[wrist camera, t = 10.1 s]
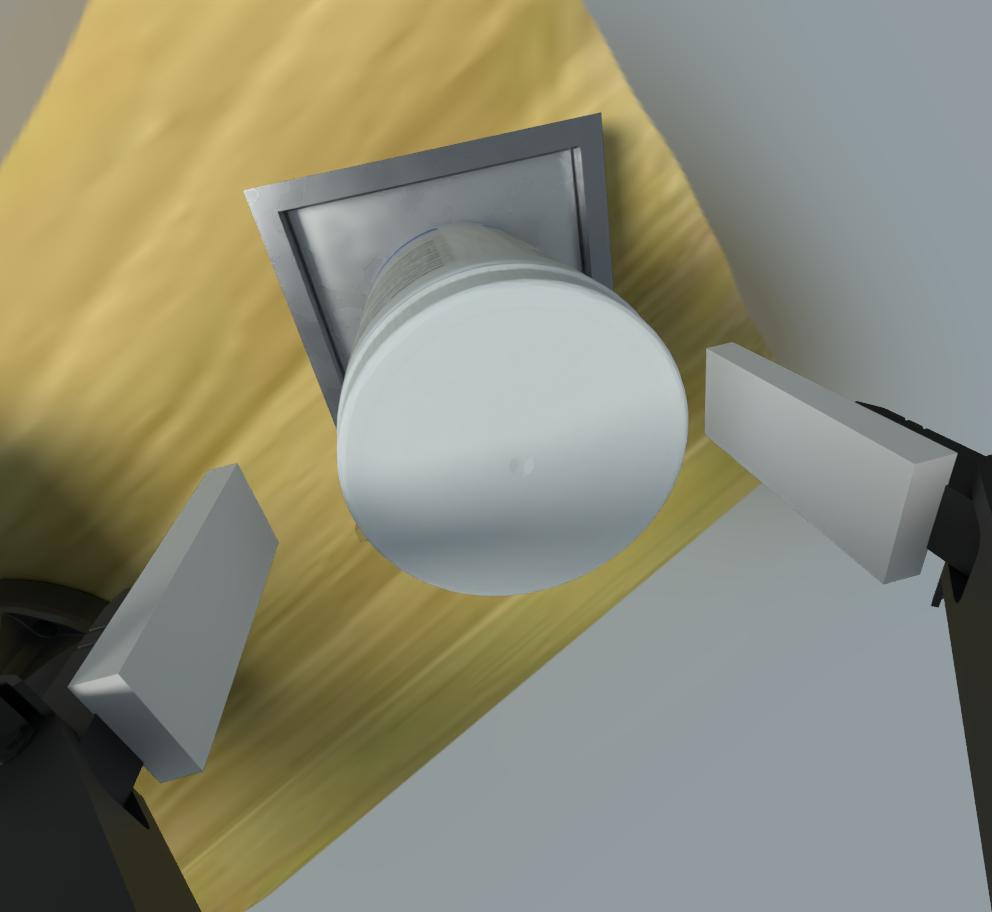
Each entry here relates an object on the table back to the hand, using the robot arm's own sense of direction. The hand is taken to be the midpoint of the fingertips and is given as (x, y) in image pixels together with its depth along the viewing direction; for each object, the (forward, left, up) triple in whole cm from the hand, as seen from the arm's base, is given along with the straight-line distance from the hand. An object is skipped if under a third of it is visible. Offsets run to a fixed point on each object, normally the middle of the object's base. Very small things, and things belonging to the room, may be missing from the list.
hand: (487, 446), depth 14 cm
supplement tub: (+1, 0, -13) cm, 13 cm away
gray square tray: (0, 0, -17) cm, 16 cm away
